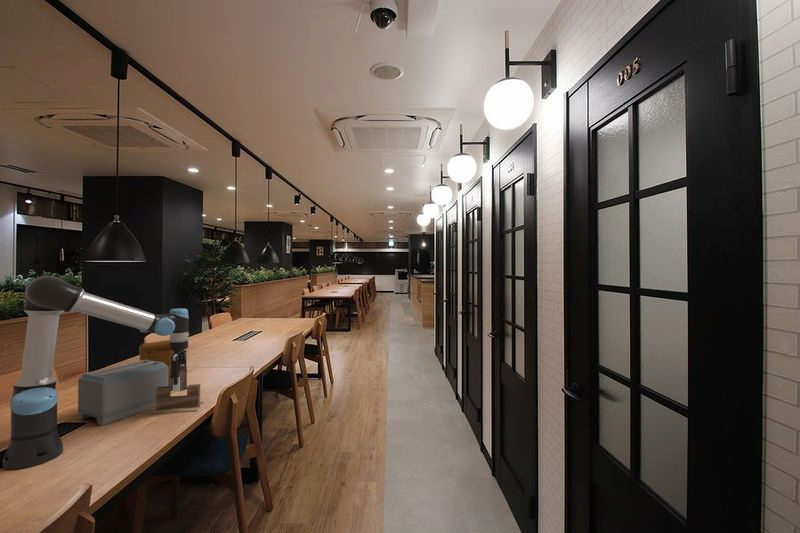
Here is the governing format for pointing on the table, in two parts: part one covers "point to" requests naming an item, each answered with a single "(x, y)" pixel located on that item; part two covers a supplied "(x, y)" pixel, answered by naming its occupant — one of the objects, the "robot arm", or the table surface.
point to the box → (182, 377)
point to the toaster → (120, 390)
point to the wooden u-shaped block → (177, 400)
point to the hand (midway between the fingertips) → (178, 388)
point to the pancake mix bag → (158, 354)
